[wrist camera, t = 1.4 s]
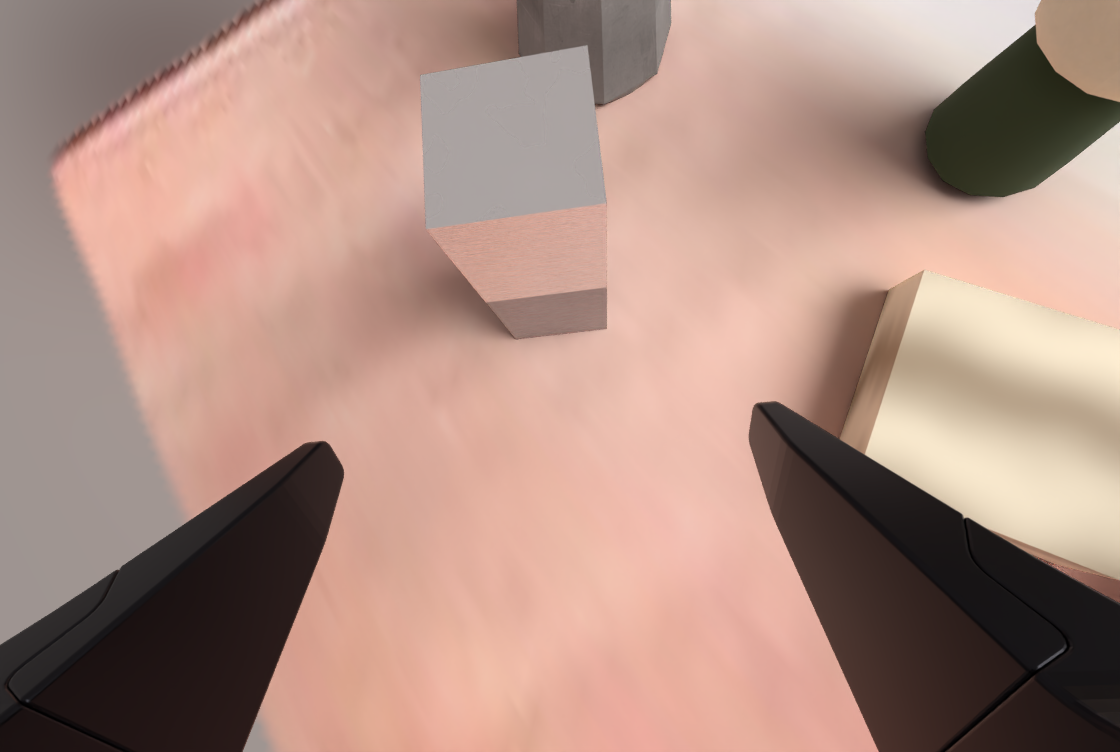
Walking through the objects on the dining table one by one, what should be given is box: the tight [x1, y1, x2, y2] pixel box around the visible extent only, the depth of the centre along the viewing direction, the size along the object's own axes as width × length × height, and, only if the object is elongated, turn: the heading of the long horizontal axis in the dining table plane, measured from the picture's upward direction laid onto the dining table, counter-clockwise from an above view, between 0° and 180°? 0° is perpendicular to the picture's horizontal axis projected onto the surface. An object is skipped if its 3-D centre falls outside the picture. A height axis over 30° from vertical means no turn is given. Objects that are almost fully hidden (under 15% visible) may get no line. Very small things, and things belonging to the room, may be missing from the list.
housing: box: [420, 45, 607, 339], centre depth 18 cm, size 5×5×12 cm
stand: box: [840, 270, 1120, 581], centre depth 19 cm, size 10×10×2 cm
